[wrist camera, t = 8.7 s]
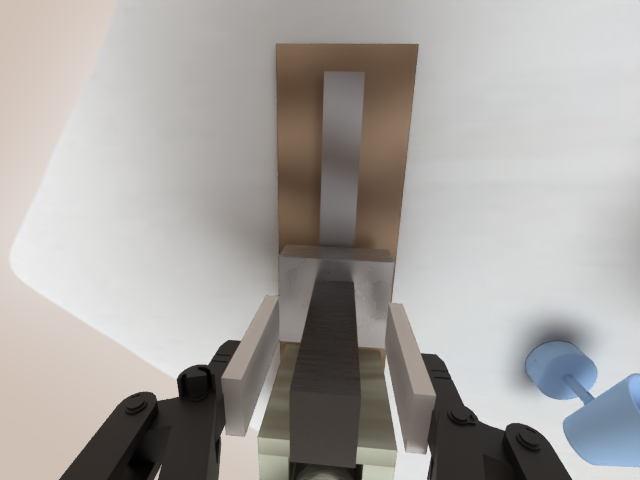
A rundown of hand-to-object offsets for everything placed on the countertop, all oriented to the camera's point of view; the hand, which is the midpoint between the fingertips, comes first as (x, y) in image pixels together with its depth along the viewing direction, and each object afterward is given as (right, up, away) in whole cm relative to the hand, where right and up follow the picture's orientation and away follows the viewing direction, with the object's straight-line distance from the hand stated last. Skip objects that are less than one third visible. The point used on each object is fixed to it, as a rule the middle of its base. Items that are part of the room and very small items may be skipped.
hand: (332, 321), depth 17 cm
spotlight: (+19, -5, +9) cm, 22 cm away
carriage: (0, +1, +4) cm, 4 cm away
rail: (+1, +3, +7) cm, 8 cm away
